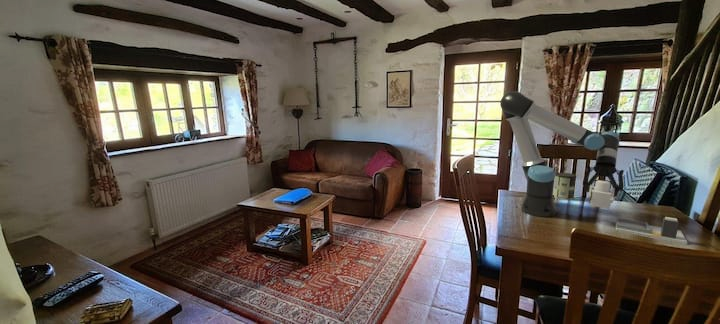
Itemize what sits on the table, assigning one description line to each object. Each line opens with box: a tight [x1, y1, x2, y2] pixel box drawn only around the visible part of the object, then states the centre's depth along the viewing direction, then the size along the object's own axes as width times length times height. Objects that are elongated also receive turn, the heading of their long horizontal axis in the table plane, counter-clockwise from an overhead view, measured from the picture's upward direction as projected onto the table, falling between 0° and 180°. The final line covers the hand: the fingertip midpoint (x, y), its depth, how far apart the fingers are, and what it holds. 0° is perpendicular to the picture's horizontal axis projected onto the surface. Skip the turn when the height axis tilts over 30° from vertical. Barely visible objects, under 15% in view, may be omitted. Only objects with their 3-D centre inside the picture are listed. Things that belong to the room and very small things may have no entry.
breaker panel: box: [614, 216, 688, 245], centre depth 127 cm, size 21×13×3 cm, turn 51°
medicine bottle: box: [588, 178, 612, 209], centre depth 136 cm, size 7×7×12 cm
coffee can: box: [553, 172, 577, 201], centre depth 175 cm, size 10×10×14 cm
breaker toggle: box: [661, 216, 680, 239], centre depth 120 cm, size 4×3×8 cm
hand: (600, 199), depth 134 cm, fingers closed on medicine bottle, 7 cm apart
